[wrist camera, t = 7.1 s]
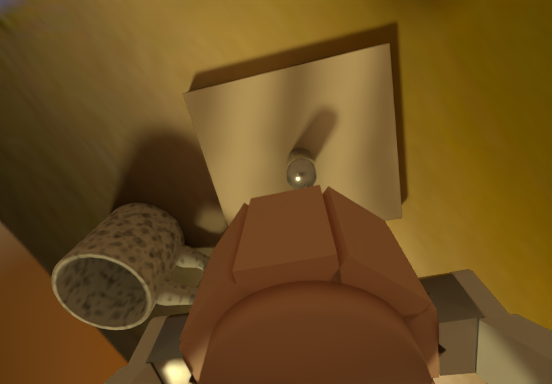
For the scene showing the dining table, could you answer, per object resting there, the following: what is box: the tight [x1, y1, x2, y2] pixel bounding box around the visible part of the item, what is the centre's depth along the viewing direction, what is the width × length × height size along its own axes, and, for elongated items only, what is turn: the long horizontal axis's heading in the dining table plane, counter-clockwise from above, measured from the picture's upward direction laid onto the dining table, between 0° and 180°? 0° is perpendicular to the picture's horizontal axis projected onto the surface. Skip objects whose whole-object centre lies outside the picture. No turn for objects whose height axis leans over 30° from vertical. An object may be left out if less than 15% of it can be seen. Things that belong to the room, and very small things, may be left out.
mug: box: [51, 202, 210, 330], centre depth 23 cm, size 10×7×7 cm, turn 75°
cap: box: [179, 185, 439, 384], centre depth 9 cm, size 6×6×4 cm
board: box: [183, 43, 402, 227], centre depth 22 cm, size 13×12×1 cm
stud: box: [287, 148, 317, 189], centre depth 20 cm, size 2×2×3 cm
